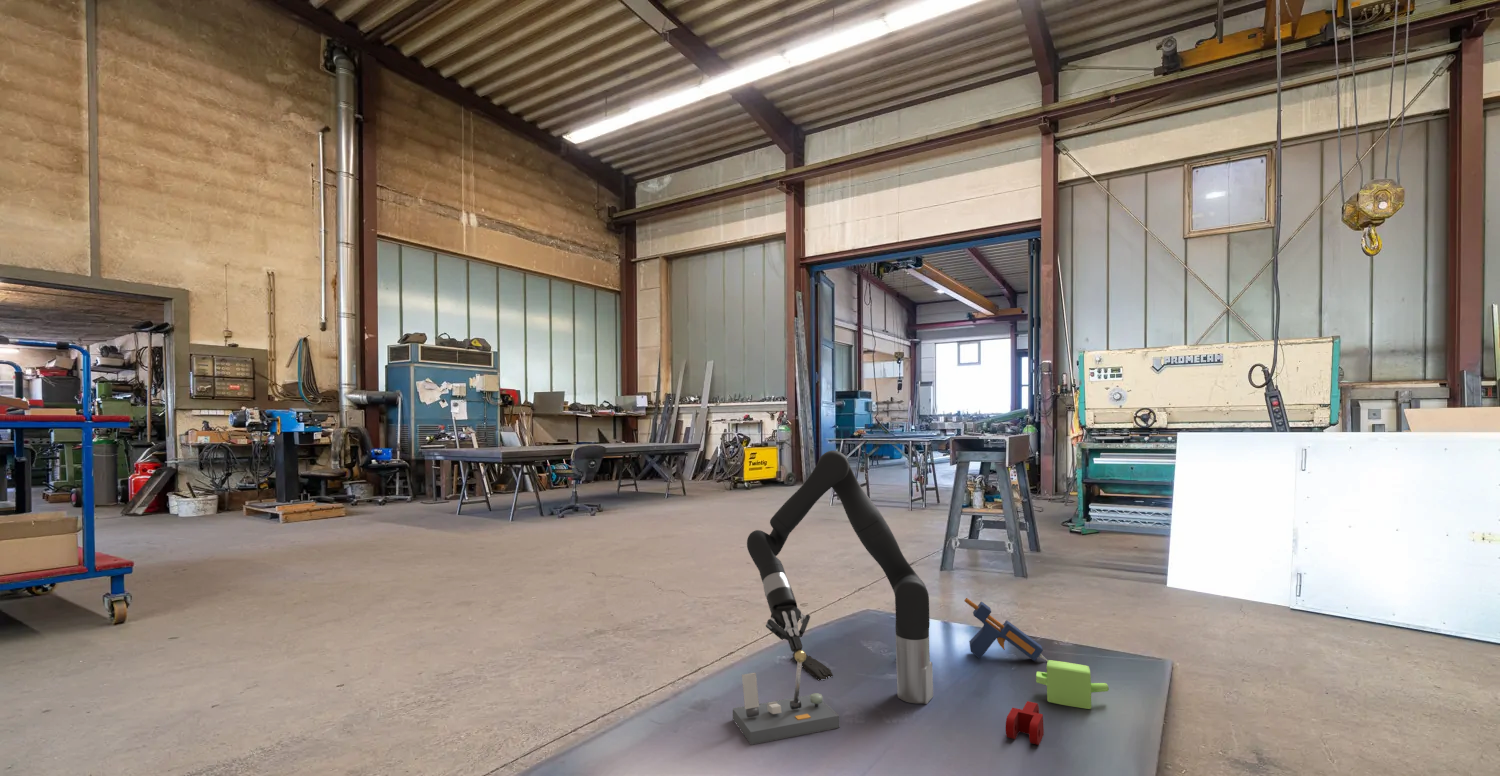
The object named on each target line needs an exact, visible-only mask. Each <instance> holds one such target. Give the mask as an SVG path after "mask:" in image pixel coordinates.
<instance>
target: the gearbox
mask: <svg viewBox="0 0 1500 776" xmlns="http://www.w3.org/2000/svg"><path fill="white" fill-rule="evenodd" d="M1047 660H1048V662H1047V661H1046V662H1047V663H1046V672H1045V671H1036V674H1035V682H1036V684H1040V685H1044V686H1046V697H1047V699H1046V700H1047V702H1049V703H1052V704H1057V705H1062V706H1067V707H1074V708H1081V709H1087V710H1091V709H1092V693H1102V692H1103V693H1104V692H1109V690H1110V689H1109V685H1108V684H1107V683H1106V682H1092V677H1091V669H1090V666H1089V665H1085V664H1080V663H1079V664H1078V663H1074V662H1073V663H1072V662H1068V661H1059V660H1052V659H1047Z"/></svg>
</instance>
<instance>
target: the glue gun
mask: <svg viewBox="0 0 1500 776" xmlns="http://www.w3.org/2000/svg"><path fill="white" fill-rule="evenodd" d="M964 602H965V603H966V604H967V605H968V606H970V607H971V608H973V609H974V610H973V612H972V613H973V615H972V616H973V617H975V618H976V619H977V620H979V621H980V622H981V623H982V624H983V626H982V627H981V628H980V629H979V630H978V631H977V633H975V635H974V636H973V637H971V639H970V640H969V642H968V643H969V648H970V652H971V653H972V654H973V655H974V656H976V657H977V658H978V659H982V658H983V656H984V655H985V654H986V652H987V651H988V650H989V648H990V647H991V646H992V644H993V643H994V642H995V641H997V643H998V644H999V646H1000V647H1001V648H1002V650H1003V651H1005V649H1006V648H1005V641H1007V642H1008V643H1010V644H1011V645H1012V646H1014V647H1015V648H1016V649H1018V651H1020V652H1021V653H1023V654H1024V655H1026V656H1027V657H1028V658H1030V659H1031V660H1032V661H1034V662H1036V660H1037V659H1038V658H1041V659H1042V660H1044V661H1046V662H1048V660H1049V659H1047V658H1046V657H1045V656H1044V655H1043V654H1042V652H1043V651H1044V650H1043V646H1042V645H1041V644H1040V643H1038V642H1037V641H1036V640H1035V639H1033V638H1032V637H1030V636H1029V635H1027V634H1026V633H1025V632H1024V631H1022V630H1021V629H1020V628H1019V627H1017V626H1015V625H1014V624H1013V623H1012V622H1010V621H1009V620H1005V621H1004V622H1003V624H1002V623H1001V622H999V621H998V620H997V619H995V618H994V617H993V616H992V615H991V613H992V609H991V607H989V606H988V605H987V604H985V603H984V602H983V601H980V602H979V604H976V603H975V602H973V601H972V600H970V599H969V598H968V597H966V598H965V599H964Z"/></svg>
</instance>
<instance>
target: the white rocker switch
mask: <svg viewBox="0 0 1500 776" xmlns="http://www.w3.org/2000/svg"><path fill="white" fill-rule="evenodd" d="M767 708H768V711H769V712H770V713H772V714H777V713H781V706H780V705H779V704H777V702H773V701H770V703H768V704H767Z"/></svg>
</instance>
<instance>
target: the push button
mask: <svg viewBox="0 0 1500 776" xmlns="http://www.w3.org/2000/svg"><path fill="white" fill-rule="evenodd" d="M809 695H810V702H811V703H814V704H815V707H818V704H820V703H822V701H823V695H822V694H821V693H818V692H816V693H811V694H809Z"/></svg>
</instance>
